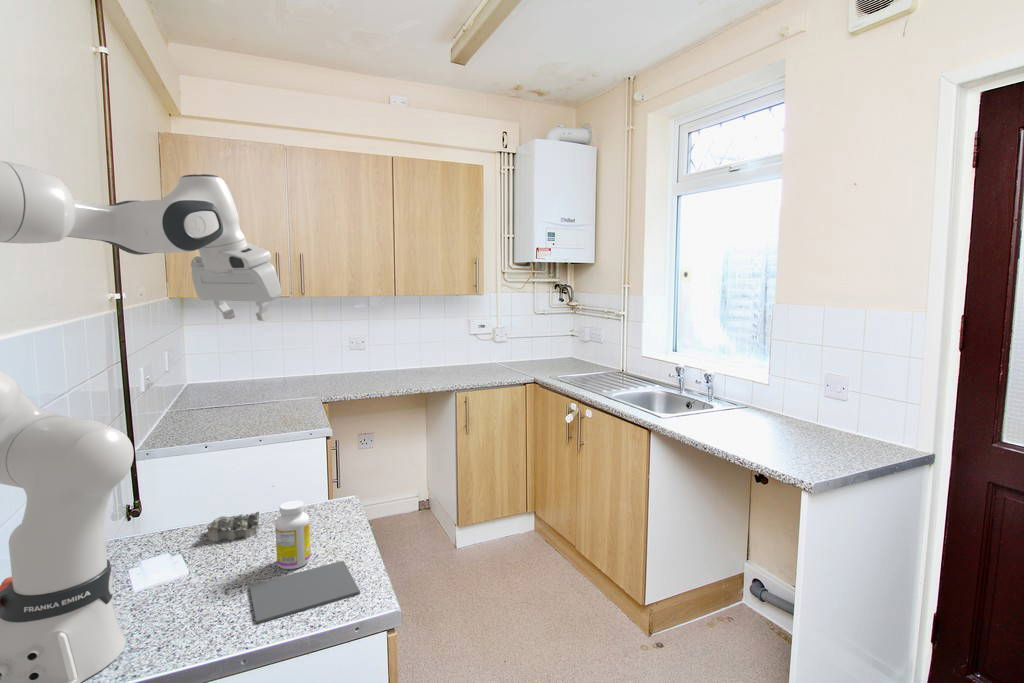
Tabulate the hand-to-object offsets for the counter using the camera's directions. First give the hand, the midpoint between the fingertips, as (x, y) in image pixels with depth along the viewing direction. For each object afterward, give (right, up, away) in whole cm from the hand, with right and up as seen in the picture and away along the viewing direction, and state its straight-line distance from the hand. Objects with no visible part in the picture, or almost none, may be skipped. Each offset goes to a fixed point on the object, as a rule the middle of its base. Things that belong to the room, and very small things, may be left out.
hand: (246, 319), depth 112 cm
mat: (+17, -53, -11) cm, 57 cm away
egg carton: (-9, -51, +12) cm, 53 cm away
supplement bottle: (+11, -52, -1) cm, 53 cm away
